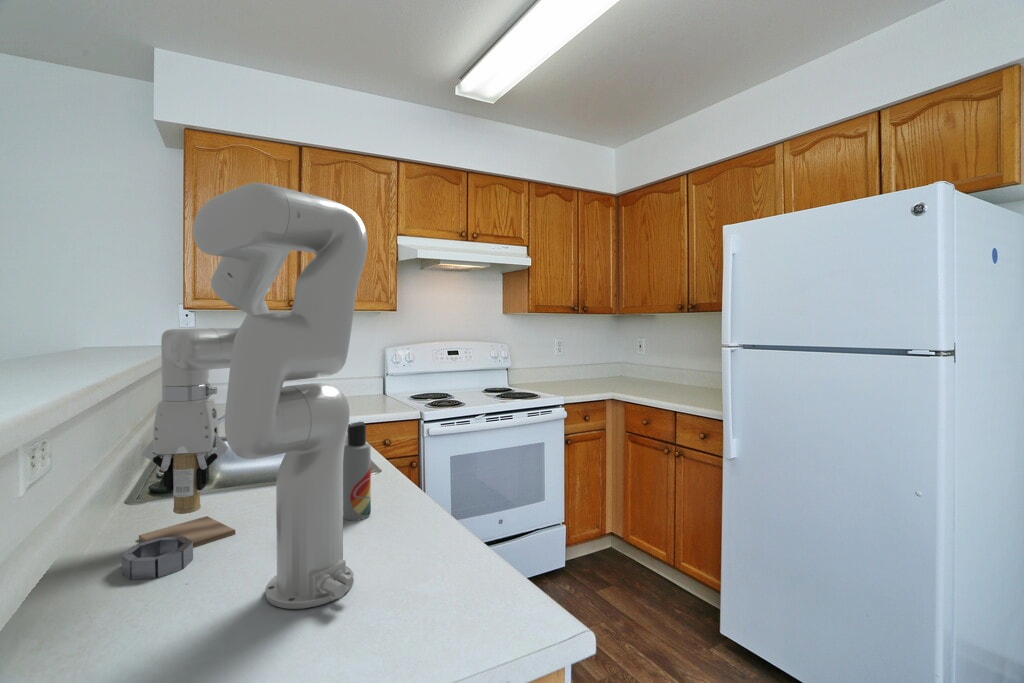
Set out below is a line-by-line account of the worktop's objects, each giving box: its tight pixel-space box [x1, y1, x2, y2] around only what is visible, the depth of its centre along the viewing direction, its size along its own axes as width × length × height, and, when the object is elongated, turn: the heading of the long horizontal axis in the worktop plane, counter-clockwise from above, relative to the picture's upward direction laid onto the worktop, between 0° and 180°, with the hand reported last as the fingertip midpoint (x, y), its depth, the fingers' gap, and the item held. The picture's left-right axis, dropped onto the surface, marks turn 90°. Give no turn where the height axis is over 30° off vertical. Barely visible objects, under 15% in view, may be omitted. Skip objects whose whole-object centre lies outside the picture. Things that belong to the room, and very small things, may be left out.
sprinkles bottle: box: [172, 446, 202, 515], centre depth 97 cm, size 5×5×13 cm
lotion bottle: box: [343, 421, 372, 521], centre depth 108 cm, size 6×6×20 cm
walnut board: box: [138, 516, 236, 548], centre depth 97 cm, size 12×12×1 cm
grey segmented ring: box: [121, 536, 194, 581], centre depth 86 cm, size 9×9×3 cm
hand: (186, 488), depth 97 cm, fingers closed on sprinkles bottle, 4 cm apart
